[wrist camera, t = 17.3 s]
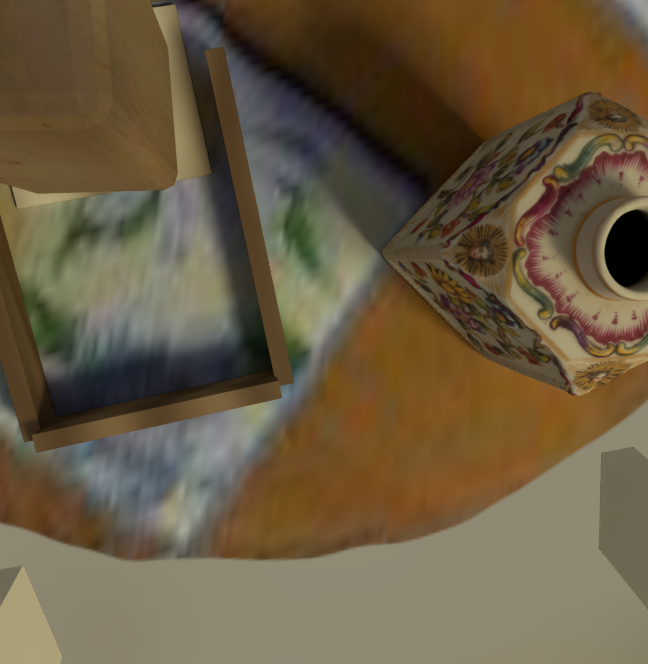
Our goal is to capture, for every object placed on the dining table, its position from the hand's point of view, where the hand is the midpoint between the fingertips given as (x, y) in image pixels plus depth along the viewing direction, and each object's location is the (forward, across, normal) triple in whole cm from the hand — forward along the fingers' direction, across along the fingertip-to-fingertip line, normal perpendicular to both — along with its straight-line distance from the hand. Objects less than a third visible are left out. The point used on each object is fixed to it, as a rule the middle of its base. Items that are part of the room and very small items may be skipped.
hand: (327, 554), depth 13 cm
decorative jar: (+30, +15, -2) cm, 34 cm away
